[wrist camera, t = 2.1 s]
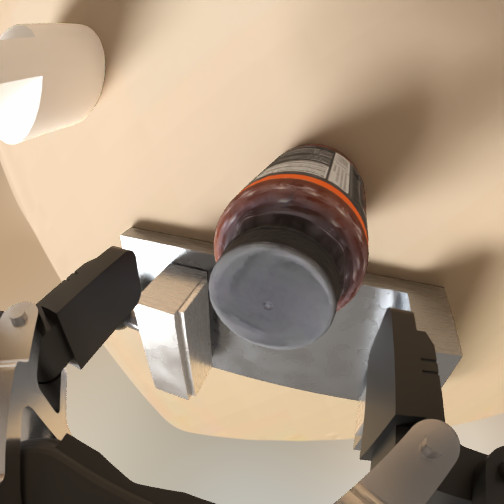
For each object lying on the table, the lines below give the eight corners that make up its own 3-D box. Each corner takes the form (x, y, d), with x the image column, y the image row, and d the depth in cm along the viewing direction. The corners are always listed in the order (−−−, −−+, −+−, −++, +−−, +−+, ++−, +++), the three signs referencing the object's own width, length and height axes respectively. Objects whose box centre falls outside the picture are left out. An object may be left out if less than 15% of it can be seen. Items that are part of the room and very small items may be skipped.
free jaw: (212, 272, 22) (179, 316, 18) (215, 359, 27) (193, 401, 23) (111, 249, 24) (72, 281, 20) (131, 331, 29) (103, 364, 25)
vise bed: (443, 287, 19) (462, 356, 14) (391, 392, 25) (387, 453, 20) (131, 227, 25) (78, 268, 19) (150, 334, 31) (116, 378, 25)
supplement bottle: (353, 243, 20) (339, 388, 10) (263, 224, 21) (183, 346, 12) (373, 152, 17) (396, 240, 7) (272, 134, 18) (173, 196, 9)
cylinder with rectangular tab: (94, 4, 16) (-44, 4, 6) (117, 102, 20) (-30, 145, 10) (31, 55, 19) (-80, 80, 9) (50, 139, 23) (-61, 189, 13)
